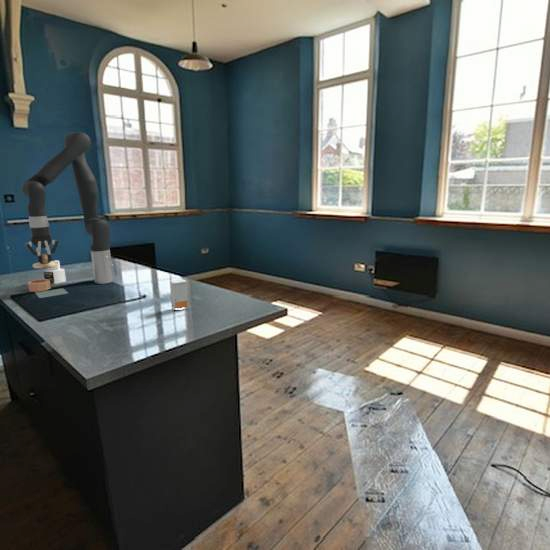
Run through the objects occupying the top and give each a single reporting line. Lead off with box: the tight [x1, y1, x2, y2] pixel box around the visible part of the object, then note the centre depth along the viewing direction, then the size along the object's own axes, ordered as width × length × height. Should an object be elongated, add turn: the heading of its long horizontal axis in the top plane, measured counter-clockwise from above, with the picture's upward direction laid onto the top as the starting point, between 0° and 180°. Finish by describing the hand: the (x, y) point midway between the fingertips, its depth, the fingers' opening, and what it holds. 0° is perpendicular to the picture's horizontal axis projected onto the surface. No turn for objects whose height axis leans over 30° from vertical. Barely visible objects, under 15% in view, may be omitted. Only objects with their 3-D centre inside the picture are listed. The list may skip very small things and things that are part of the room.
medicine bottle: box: [43, 259, 67, 285], centre depth 201 cm, size 7×7×12 cm
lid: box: [32, 253, 58, 269], centre depth 178 cm, size 10×10×6 cm
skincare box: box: [169, 278, 189, 309], centre depth 155 cm, size 6×4×12 cm
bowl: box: [27, 278, 52, 293], centre depth 188 cm, size 9×9×4 cm
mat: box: [35, 287, 69, 299], centre depth 181 cm, size 12×12×1 cm
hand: (45, 262), depth 179 cm, fingers closed on lid, 2 cm apart
